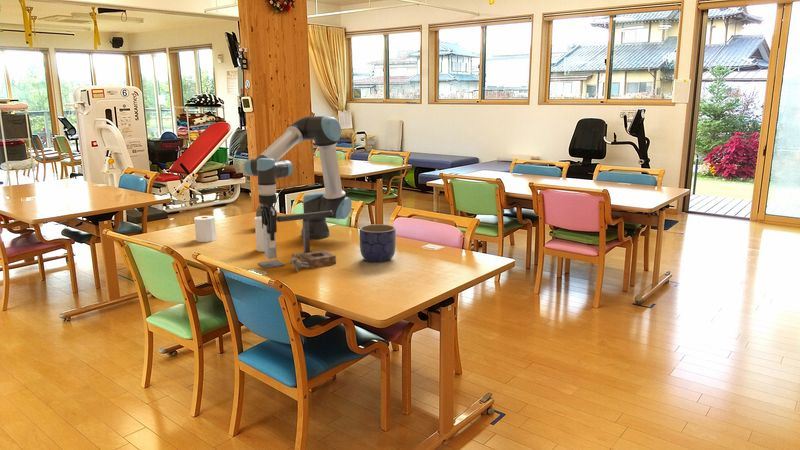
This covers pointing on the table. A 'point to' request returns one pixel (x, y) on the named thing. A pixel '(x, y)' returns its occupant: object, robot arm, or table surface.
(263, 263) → the mat
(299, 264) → the elephant figurine
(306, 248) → the handle post
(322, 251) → the eye block
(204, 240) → the toilet paper
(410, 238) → the table surface
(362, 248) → the planter
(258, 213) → the decorative egg
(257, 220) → the cup
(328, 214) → the dark grey bar
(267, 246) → the peg
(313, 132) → the robot arm
